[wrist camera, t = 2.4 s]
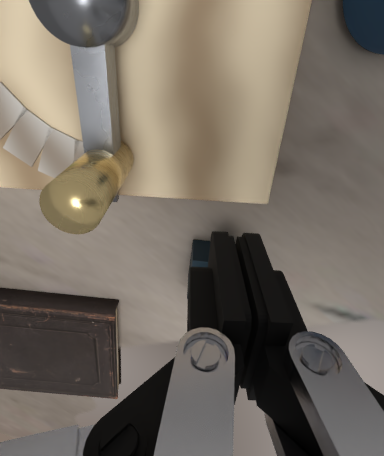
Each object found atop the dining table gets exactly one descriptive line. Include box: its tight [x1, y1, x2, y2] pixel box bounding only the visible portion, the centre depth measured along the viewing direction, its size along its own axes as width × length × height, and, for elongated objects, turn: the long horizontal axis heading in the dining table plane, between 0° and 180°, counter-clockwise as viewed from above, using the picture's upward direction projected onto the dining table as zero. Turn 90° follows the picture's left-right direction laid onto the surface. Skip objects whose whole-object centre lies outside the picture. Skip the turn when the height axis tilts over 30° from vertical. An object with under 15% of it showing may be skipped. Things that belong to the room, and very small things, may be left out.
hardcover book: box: [0, 288, 121, 399], centre depth 33 cm, size 16×23×2 cm
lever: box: [29, 0, 139, 234], centre depth 15 cm, size 14×4×8 cm, turn 177°
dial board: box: [0, 0, 312, 204], centre depth 17 cm, size 24×24×1 cm
